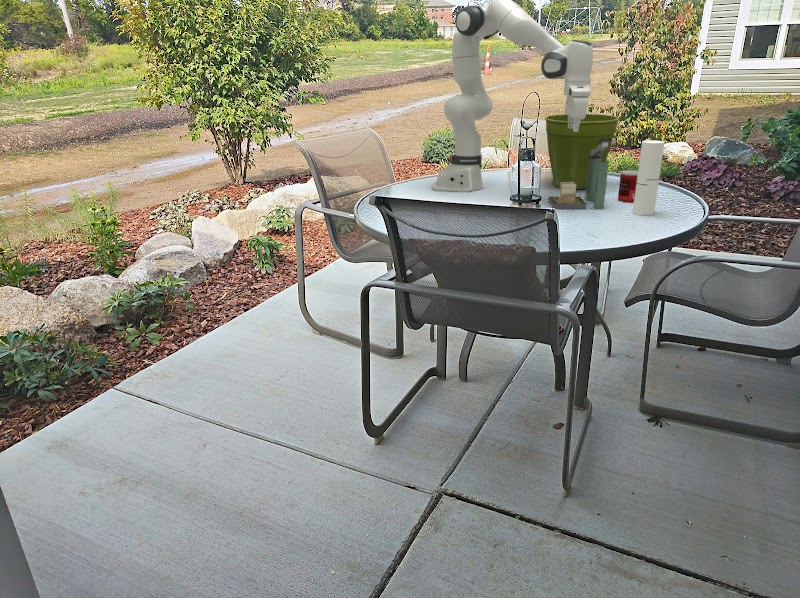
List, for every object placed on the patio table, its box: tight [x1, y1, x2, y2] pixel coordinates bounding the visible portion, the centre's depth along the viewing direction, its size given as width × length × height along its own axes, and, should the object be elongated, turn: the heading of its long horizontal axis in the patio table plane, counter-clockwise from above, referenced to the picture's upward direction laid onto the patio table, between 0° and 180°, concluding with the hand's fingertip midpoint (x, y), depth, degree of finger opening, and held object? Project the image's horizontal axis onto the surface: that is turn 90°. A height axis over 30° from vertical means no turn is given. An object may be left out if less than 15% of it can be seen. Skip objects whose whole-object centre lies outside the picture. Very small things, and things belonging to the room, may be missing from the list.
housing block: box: [558, 182, 577, 201], centre depth 222 cm, size 5×5×6 cm
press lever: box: [589, 138, 611, 157], centre depth 218 cm, size 16×4×4 cm, turn 176°
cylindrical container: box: [632, 140, 665, 216], centre depth 206 cm, size 7×7×25 cm
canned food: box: [617, 169, 638, 203], centre depth 228 cm, size 8×8×11 cm
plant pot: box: [544, 113, 620, 190], centre depth 251 cm, size 30×30×29 cm
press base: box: [547, 157, 609, 210], centre depth 223 cm, size 19×17×17 cm
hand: (573, 130), depth 214 cm, fingers open, 8 cm apart
